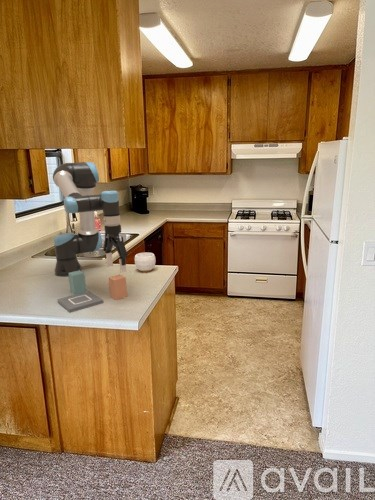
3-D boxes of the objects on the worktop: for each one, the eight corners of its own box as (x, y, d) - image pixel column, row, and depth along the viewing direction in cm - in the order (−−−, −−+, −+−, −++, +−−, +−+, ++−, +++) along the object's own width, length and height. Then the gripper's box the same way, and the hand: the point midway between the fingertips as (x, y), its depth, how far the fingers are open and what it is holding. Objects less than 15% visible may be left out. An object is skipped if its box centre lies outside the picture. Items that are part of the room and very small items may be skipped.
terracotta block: (110, 296, 174) (108, 277, 171) (121, 293, 177) (119, 274, 175) (116, 300, 169) (114, 280, 167) (127, 296, 173) (125, 277, 170)
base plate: (57, 302, 169) (57, 299, 169) (89, 293, 179) (89, 290, 178) (69, 312, 157) (69, 309, 156) (103, 302, 166) (103, 299, 166)
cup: (156, 267, 219) (155, 251, 216) (155, 273, 207) (154, 257, 205) (136, 267, 219) (135, 252, 216) (134, 274, 207) (133, 258, 204)
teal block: (70, 291, 183) (68, 272, 180) (81, 288, 186) (79, 270, 184) (75, 294, 178) (72, 275, 176) (86, 291, 182) (84, 272, 179)
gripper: (93, 223, 172) (98, 265, 177) (117, 229, 152) (121, 276, 157) (107, 220, 176) (111, 262, 181) (133, 226, 157) (136, 272, 162)
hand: (116, 268), depth 169 cm, fingers open, 13 cm apart
